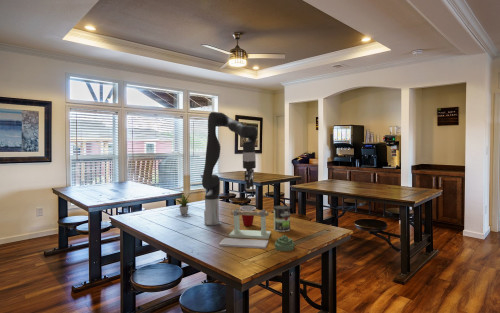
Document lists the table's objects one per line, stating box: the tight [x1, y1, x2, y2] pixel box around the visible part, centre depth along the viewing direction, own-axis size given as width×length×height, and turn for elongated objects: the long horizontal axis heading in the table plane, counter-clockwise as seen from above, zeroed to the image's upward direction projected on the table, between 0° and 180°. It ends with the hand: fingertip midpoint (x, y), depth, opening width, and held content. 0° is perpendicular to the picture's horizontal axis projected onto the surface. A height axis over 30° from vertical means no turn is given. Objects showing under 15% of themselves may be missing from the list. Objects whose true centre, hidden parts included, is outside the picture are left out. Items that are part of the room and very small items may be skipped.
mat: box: [218, 237, 269, 250], centre depth 160 cm, size 25×10×1 cm, turn 77°
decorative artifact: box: [274, 234, 295, 252], centre depth 154 cm, size 10×7×10 cm
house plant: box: [173, 193, 192, 215], centre depth 233 cm, size 14×14×16 cm
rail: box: [230, 210, 269, 217], centre depth 174 cm, size 22×2×2 cm, turn 77°
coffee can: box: [273, 204, 291, 233], centre depth 186 cm, size 10×10×14 cm
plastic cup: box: [239, 205, 257, 227], centre depth 197 cm, size 11×11×12 cm
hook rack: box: [228, 208, 272, 240], centre depth 175 cm, size 23×10×15 cm, turn 77°
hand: (249, 187), depth 174 cm, fingers open, 8 cm apart
